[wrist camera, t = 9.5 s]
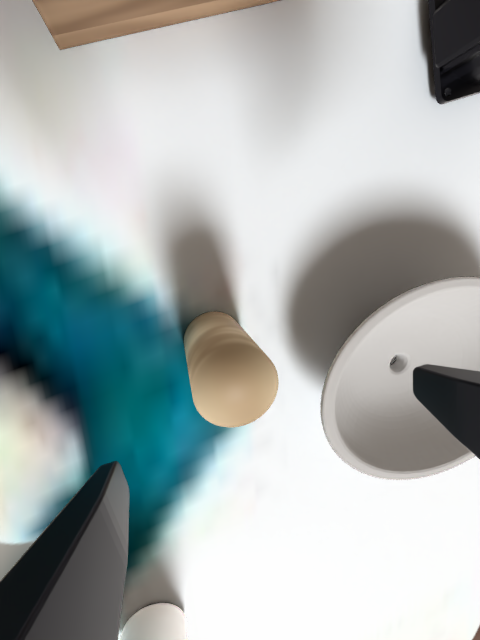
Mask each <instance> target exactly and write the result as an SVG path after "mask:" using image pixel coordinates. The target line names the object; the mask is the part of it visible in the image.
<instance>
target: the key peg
mask: <svg viewBox="0 0 480 640" xmlns="http://www.w3.org/2000/svg"><path fill="white" fill-rule="evenodd" d="M184 348H185V354H186V360H187V366H188V372H189V378H190V384H191V390H192V396H193V401H194V404H195V407H196V408H197V410H198V412H199V413H200V414H201V415H202V416H203V417H204V418H205V419H206V420H207V421H209V422H211V423H212V424H215V425H218V426H222V427H239V426H243V425H246V424H249V423H251V422H253V421H255V420H256V419H258V418H259V417H261V416H262V415H263V414H264V413H265V412H266V411H267V410H268V409H269V407H270V406H271V404H272V403H273V401H274V399H275V397H276V394H277V390H278V375H277V371H276V368H275V366H274V364H273V363H272V361H271V360H270V359H269V358H268V357H267V355H266V354H265V353H264V352H263V351H262V350H261V349H260V348H259V346H258V345H257V344H256V343H255V342H254V341H253V340H252V339H251V337H250V336H249V335H248V334H247V333H246V332H245V331H244V330H243V328H242V327H241V326H240V325H239V324H238V323H237V322H236V321H235V320H234V319H233V318H232V317H231V316H229V315H227V314H225V313H222V312H216V311H214V312H207V313H203V314H201V315H199V316H198V317H196V318H195V319H194V320H193V321H192V322H191V323H190V324H189V325H188V327H187V329H186V331H185V335H184Z"/></svg>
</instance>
